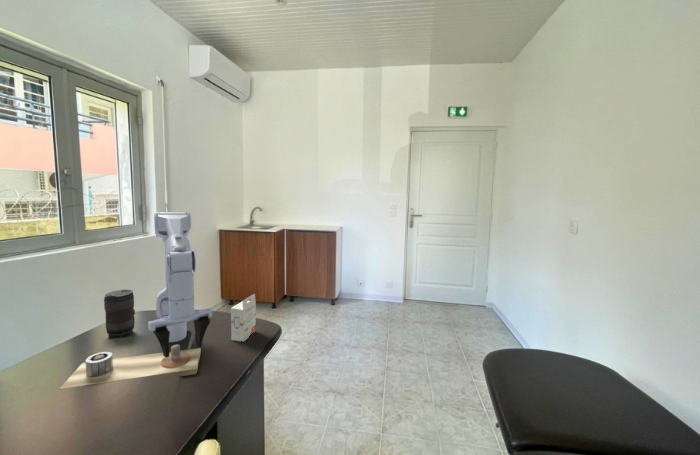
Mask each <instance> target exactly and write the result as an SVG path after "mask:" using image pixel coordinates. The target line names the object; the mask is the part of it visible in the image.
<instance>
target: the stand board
mask: <svg viewBox="0 0 700 455" xmlns="http://www.w3.org/2000/svg"><path fill="white" fill-rule="evenodd" d="M170 349H171V350H170V351H169V357H165V356H163V352H157V353H150V354H141V355H132V356H126V357H125V356H123V357H116V358H113V369H112V370H111V371H110V372H108V373H107V374H105V375H102V376H99V377H88V376H87V375H86V362H82V363H80V364H79V366H78V367H77V369H75V371H73V373H72V374H71V375H70V376H69V377H68V378H67V380H66V381H65V382H64V383H63V384H62V385H61V387H59V390H65V389H71V388H77V387H83V386H88V385H89V386H90V385H91V386H92V385H97V384H98V385H99V384H104V383H110V382H116V381H124V380H130V379H132V380H133V379H137V378H144V377H150V376H151V377H153V376H158V375H164V374H171V373H177V372H178V373H179V374H178V377H183V376H191V375H197V372H198V368H199V365H200V364H199V363H200V358H201V354H202V348H201V347H196V348H189V349H183V350H182V349H181V345H180V344H174V345H172V346H171V347H170ZM104 358H105V357H104V355H99V356H96V357H94V361H98V360H101V359H104Z"/></svg>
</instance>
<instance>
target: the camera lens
mask: <svg viewBox="0 0 700 455" xmlns="http://www.w3.org/2000/svg"><path fill="white" fill-rule="evenodd" d="M103 302H104V303H103V304H104V305H103V306H104V312H105V328H106V329H105V330H106V333H107V334H108V338H109V339H113V340H114V339H122V338H127V337H129V336H132V334H133V333H134V332H133V331H134V329H135V323H136V321H135V320H136V319H135V314H136V310H135V309H134V306H135V296H134V292H133V290H131V289H119V290H113V291H109V292H107V293H105V294H104V299H103Z"/></svg>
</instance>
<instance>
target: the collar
mask: <svg viewBox="0 0 700 455" xmlns="http://www.w3.org/2000/svg"><path fill="white" fill-rule="evenodd" d="M99 355H104V357H105V358H104V359H101V360H98V361H94V357H96V356H99ZM113 359H114V358H113V352H111V351H101V352H97V353H94V354H91V355H89V356H88V357H87V358H86V359H85V362H86V375H87V376H88V377H99V376H102V375H105V374H107V373H108V372H110V371H111V370H112V369H113ZM85 362H84V363H85Z"/></svg>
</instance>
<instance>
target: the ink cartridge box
mask: <svg viewBox="0 0 700 455" xmlns="http://www.w3.org/2000/svg"><path fill="white" fill-rule="evenodd" d="M256 306H257V303H256V294H255V293H253V294H252V295H250V296H248V297H246V298H245V299H243V300H241V302H239V303H238V304H235V305H234V306H231V308H230V326H231V328H230V329H231V330H230V331H231V333H230V334H231V335H230V336H231V339H230V340H231V341H234V342H235V341H236V342H241V341H242V343H243V342H246V340H247V339H248V338H250V337H251V336H252V335H253V334H254V333H255V332H256V320H257V316H256V315H257V314H256V313H257V311H256V310H257V309H256V308H257V307H256ZM253 332H254V333H253ZM252 333H253V334H252ZM251 334H252V335H251ZM250 335H251V336H250ZM249 336H250V337H249Z"/></svg>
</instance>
